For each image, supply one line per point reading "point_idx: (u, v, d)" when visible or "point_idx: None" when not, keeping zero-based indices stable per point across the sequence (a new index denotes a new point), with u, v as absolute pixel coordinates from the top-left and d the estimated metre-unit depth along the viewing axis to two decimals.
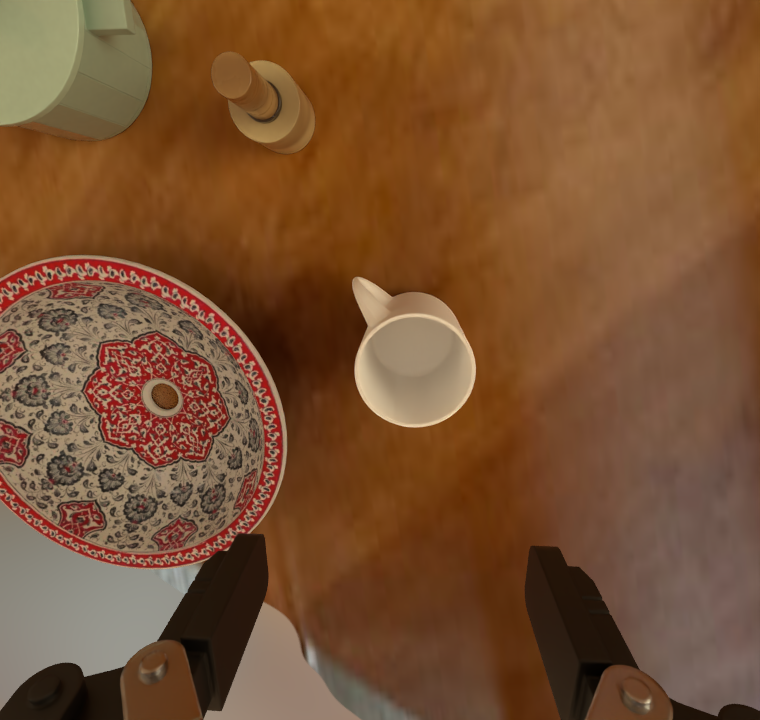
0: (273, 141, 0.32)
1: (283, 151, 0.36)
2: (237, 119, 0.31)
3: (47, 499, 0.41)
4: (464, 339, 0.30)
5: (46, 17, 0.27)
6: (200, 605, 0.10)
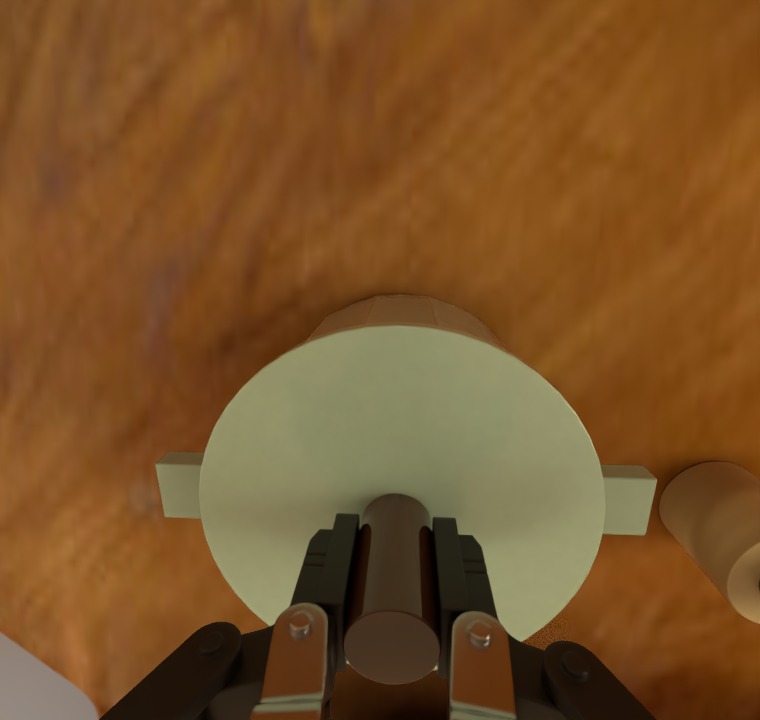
0: None
1: None
2: (737, 597, 0.19)
3: None
4: None
5: (535, 552, 0.15)
6: (324, 575, 0.11)
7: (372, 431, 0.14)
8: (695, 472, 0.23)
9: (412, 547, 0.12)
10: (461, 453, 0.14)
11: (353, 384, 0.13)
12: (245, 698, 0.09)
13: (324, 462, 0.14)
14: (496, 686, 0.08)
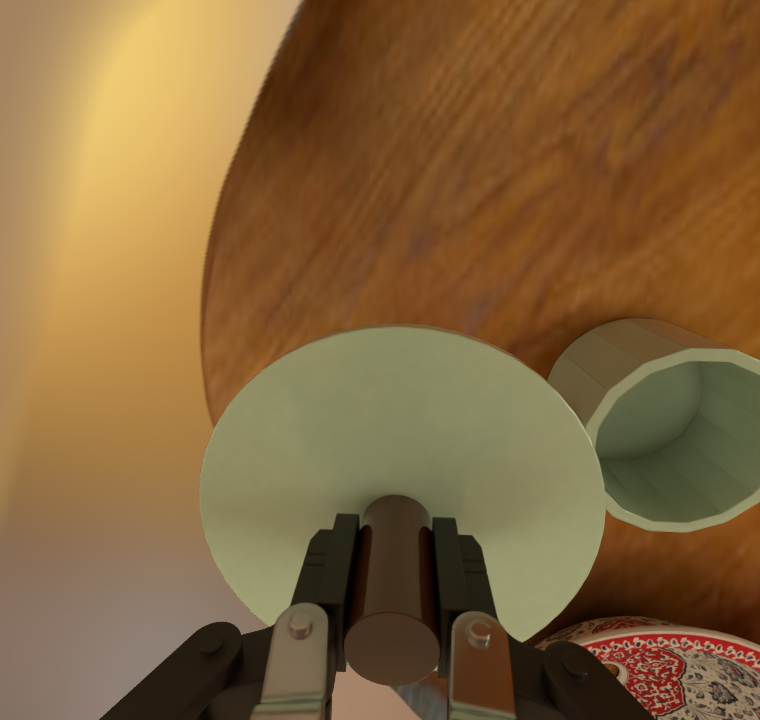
0: None
1: None
2: None
3: None
4: None
5: (535, 554, 0.15)
6: (324, 575, 0.11)
7: (372, 432, 0.14)
8: None
9: (412, 549, 0.12)
10: (461, 454, 0.14)
11: (353, 385, 0.13)
12: (245, 698, 0.09)
13: (324, 463, 0.14)
14: (496, 686, 0.08)
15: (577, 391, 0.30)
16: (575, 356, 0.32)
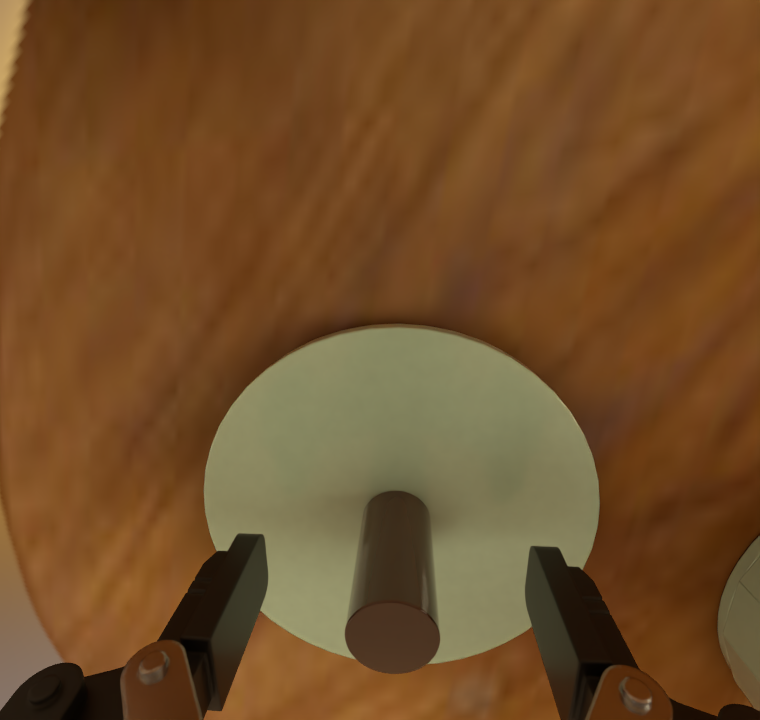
0: None
1: None
2: None
3: None
4: None
5: None
6: (200, 605, 0.10)
7: (373, 430, 0.14)
8: None
9: (411, 542, 0.13)
10: (459, 451, 0.14)
11: (354, 384, 0.14)
12: None
13: (326, 460, 0.15)
14: None
15: None
16: None
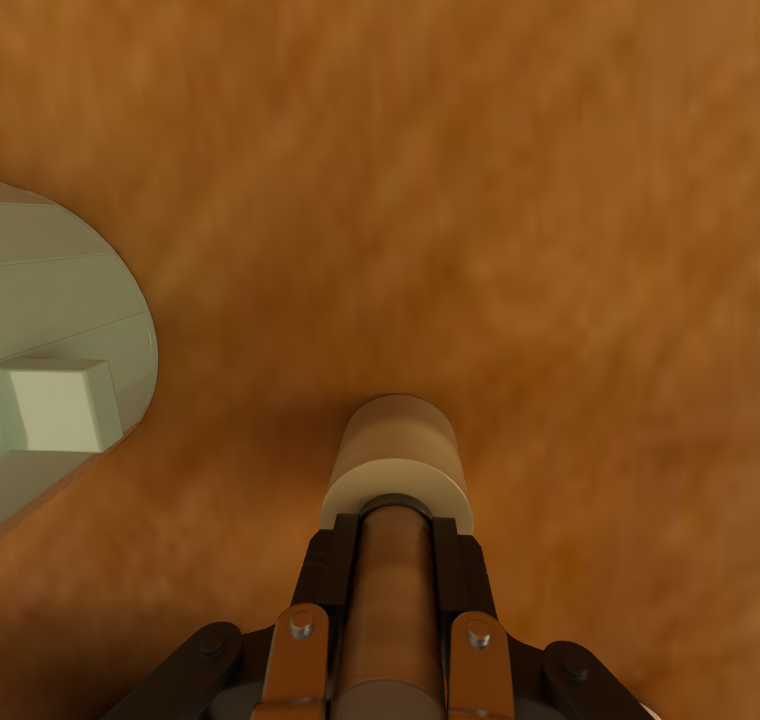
0: None
1: None
2: None
3: None
4: None
5: None
6: (324, 575, 0.11)
7: None
8: (366, 406, 0.19)
9: None
10: None
11: None
12: (246, 698, 0.09)
13: None
14: (495, 686, 0.08)
15: None
16: None
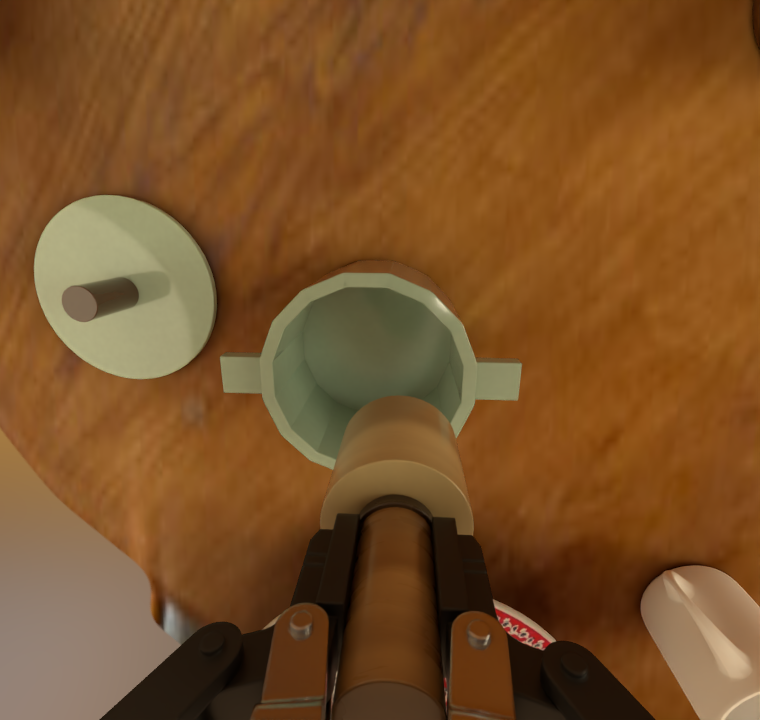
0: None
1: None
2: None
3: None
4: None
5: (186, 307, 0.33)
6: (324, 575, 0.11)
7: (104, 245, 0.32)
8: (366, 407, 0.19)
9: (106, 282, 0.30)
10: (144, 255, 0.32)
11: (92, 222, 0.31)
12: (246, 698, 0.09)
13: (87, 261, 0.32)
14: (495, 686, 0.08)
15: None
16: None
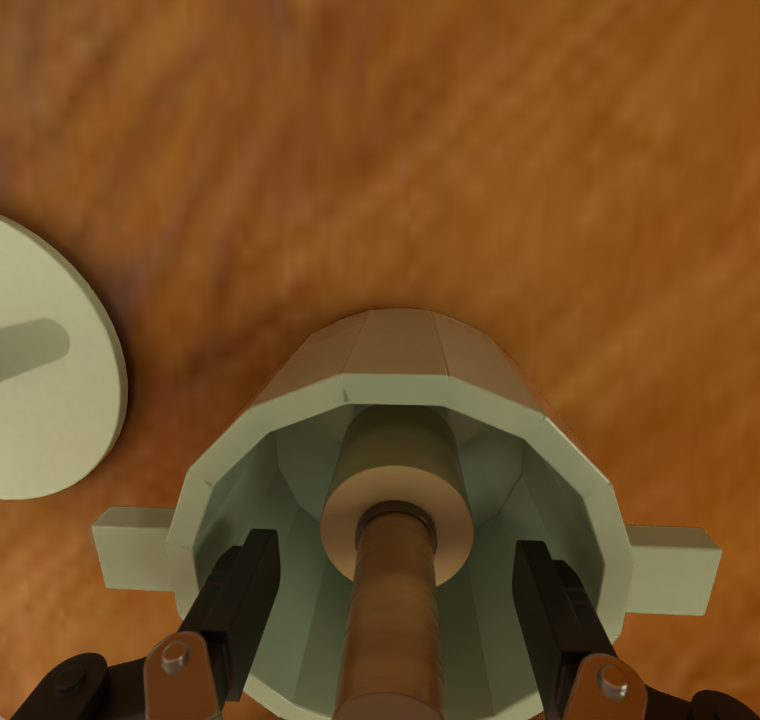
0: None
1: None
2: (337, 557, 0.15)
3: None
4: None
5: (75, 388, 0.19)
6: (218, 598, 0.11)
7: None
8: (366, 412, 0.19)
9: None
10: None
11: None
12: None
13: None
14: None
15: None
16: (267, 380, 0.17)
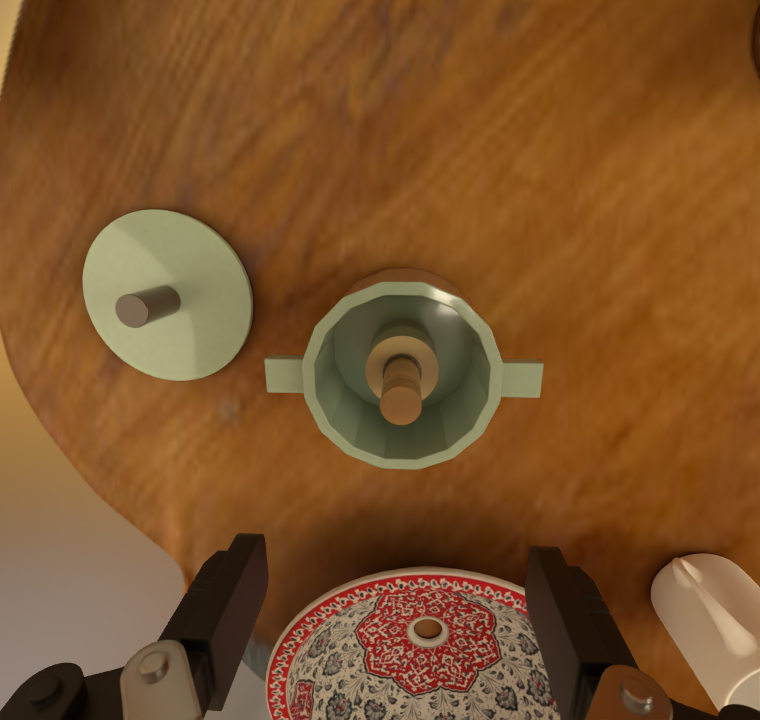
0: None
1: None
2: (373, 385, 0.31)
3: None
4: None
5: (225, 313, 0.35)
6: (200, 605, 0.10)
7: (149, 256, 0.34)
8: (385, 325, 0.35)
9: (153, 291, 0.32)
10: (186, 265, 0.34)
11: (139, 234, 0.33)
12: None
13: (132, 271, 0.34)
14: None
15: None
16: (334, 304, 0.33)
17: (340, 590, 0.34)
